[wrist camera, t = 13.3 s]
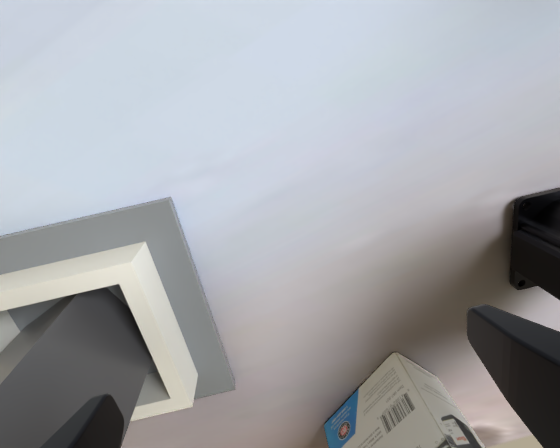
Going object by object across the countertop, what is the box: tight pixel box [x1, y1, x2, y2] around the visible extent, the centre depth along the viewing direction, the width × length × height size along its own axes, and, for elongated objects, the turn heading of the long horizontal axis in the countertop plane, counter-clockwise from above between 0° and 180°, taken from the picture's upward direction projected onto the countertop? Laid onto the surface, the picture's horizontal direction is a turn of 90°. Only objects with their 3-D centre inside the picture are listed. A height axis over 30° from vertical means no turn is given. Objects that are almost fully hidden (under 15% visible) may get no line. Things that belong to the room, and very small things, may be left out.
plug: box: [0, 287, 153, 448], centre depth 15 cm, size 6×6×13 cm
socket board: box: [0, 197, 235, 421], centre depth 20 cm, size 14×14×3 cm
